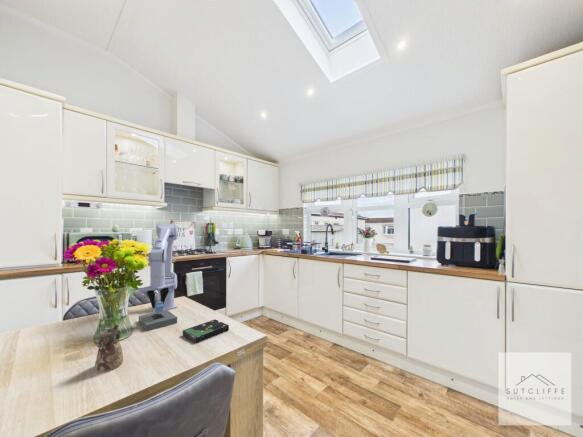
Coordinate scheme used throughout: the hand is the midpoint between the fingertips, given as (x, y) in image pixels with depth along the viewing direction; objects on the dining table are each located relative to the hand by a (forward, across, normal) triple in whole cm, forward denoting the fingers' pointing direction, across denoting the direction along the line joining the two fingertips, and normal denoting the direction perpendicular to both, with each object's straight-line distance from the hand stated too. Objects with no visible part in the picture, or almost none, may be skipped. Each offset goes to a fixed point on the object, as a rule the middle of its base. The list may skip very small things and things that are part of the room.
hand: (157, 306), depth 113 cm
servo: (+2, 0, 0) cm, 2 cm away
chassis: (+7, 0, 0) cm, 7 cm away
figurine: (+7, -21, -27) cm, 35 cm away
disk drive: (+8, +11, -26) cm, 29 cm away
